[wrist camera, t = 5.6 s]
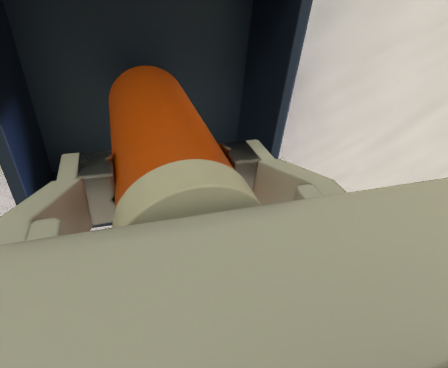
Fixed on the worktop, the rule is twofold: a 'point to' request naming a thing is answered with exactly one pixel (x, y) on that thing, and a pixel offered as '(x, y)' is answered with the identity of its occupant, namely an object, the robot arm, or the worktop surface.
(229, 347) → the robot arm
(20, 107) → the basket
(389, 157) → the worktop surface
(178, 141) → the tube
